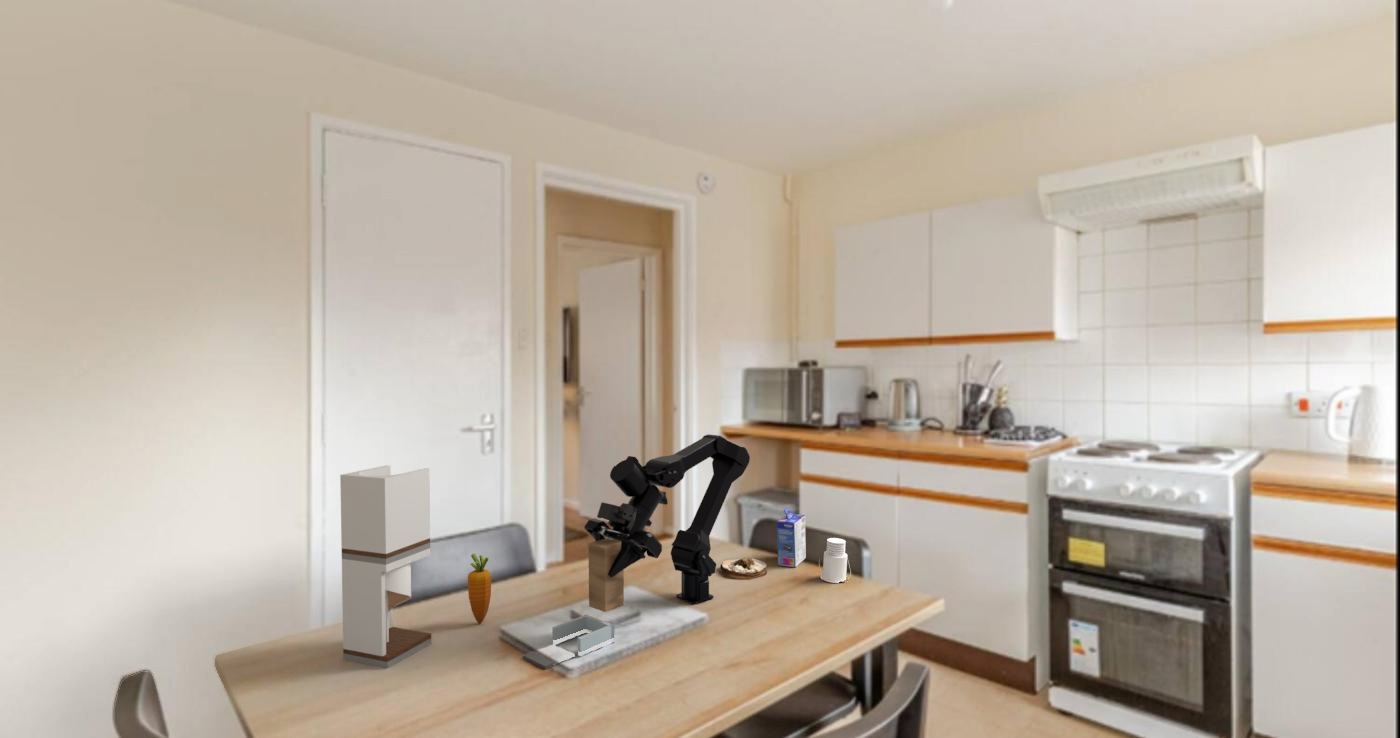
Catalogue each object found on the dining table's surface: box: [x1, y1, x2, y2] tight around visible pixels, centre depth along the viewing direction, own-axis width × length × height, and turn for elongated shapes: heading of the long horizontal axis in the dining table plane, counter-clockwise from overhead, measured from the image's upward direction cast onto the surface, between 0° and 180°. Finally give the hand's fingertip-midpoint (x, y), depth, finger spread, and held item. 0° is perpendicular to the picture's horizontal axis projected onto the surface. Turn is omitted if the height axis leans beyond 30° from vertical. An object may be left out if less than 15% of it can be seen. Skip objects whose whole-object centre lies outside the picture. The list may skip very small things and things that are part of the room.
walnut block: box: [588, 538, 625, 613], centre depth 144 cm, size 5×5×13 cm
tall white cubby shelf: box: [339, 464, 432, 669], centre depth 136 cm, size 11×11×35 cm
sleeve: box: [522, 614, 615, 670], centre depth 137 cm, size 16×9×4 cm, turn 139°
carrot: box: [467, 553, 492, 625], centre depth 149 cm, size 5×5×15 cm
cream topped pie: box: [719, 557, 769, 580], centre depth 184 cm, size 15×15×4 cm
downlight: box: [818, 537, 852, 584], centre depth 178 cm, size 8×7×10 cm
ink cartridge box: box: [776, 507, 807, 568], centre depth 192 cm, size 10×6×14 cm, turn 155°
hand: (601, 573), depth 143 cm, fingers closed on walnut block, 5 cm apart
